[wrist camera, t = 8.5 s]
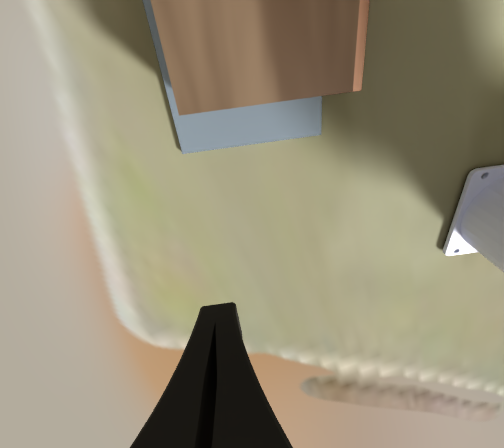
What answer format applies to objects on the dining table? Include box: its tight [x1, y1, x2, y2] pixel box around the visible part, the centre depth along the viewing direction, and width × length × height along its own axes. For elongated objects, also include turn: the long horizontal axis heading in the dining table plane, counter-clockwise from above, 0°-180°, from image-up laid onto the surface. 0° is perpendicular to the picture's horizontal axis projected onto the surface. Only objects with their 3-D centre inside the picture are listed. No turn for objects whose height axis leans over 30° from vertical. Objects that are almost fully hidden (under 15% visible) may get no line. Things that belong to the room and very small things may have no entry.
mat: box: [143, 0, 322, 154], centre depth 15 cm, size 9×12×1 cm
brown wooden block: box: [151, 0, 370, 116], centre depth 13 cm, size 4×6×8 cm
